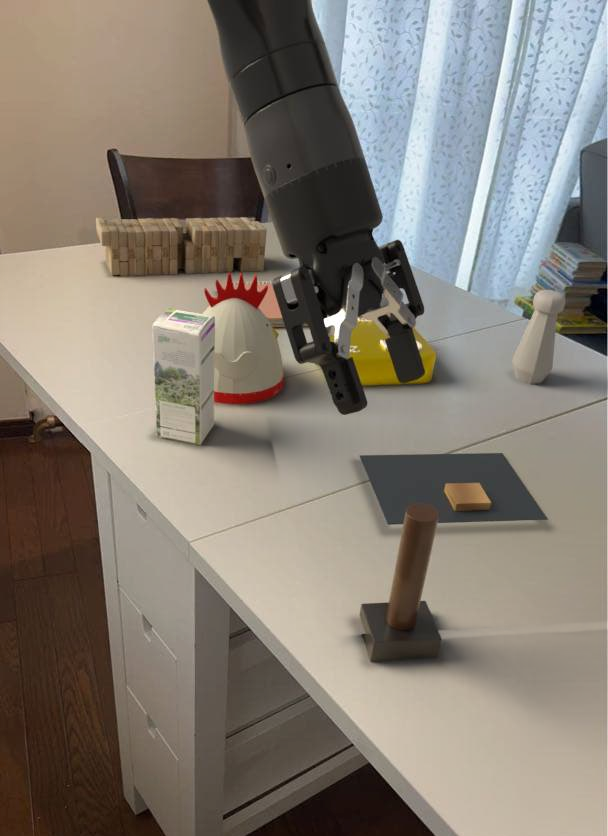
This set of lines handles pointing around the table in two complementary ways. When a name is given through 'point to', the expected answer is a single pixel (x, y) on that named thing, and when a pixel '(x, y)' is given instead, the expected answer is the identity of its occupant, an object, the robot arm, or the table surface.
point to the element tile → (383, 355)
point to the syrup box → (184, 375)
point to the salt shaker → (538, 339)
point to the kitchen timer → (243, 345)
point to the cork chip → (467, 496)
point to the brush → (405, 597)
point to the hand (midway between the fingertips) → (385, 395)
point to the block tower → (182, 245)
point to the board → (428, 473)
